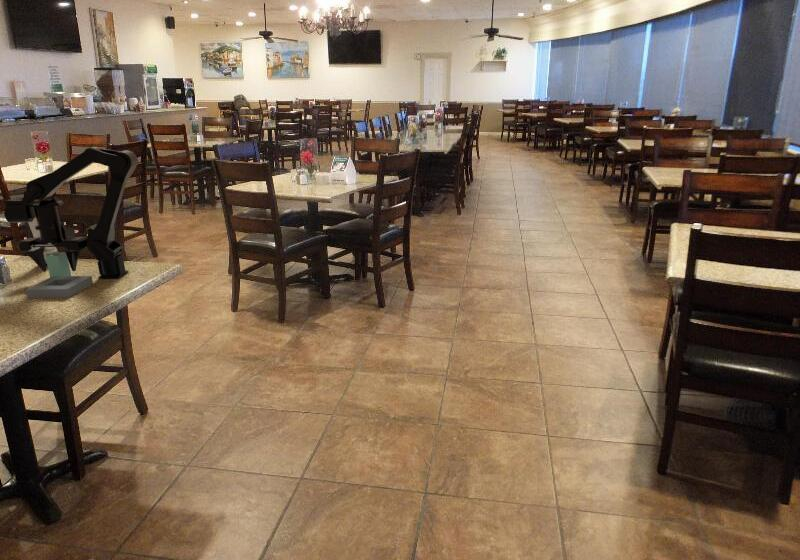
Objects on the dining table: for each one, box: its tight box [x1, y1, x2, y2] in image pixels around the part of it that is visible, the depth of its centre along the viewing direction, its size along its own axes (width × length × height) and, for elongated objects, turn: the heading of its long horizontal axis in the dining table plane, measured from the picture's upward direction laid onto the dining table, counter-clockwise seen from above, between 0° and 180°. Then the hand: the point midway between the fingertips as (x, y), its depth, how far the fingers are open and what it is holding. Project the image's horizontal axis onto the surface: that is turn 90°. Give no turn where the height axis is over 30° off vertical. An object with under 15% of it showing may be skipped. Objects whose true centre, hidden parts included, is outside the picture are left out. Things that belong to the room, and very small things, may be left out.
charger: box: [45, 250, 72, 278], centre depth 176 cm, size 4×4×9 cm
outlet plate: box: [25, 275, 94, 299], centre depth 166 cm, size 12×12×2 cm
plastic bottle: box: [27, 218, 58, 264], centre depth 191 cm, size 6×7×20 cm
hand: (59, 271), depth 176 cm, fingers open, 9 cm apart
